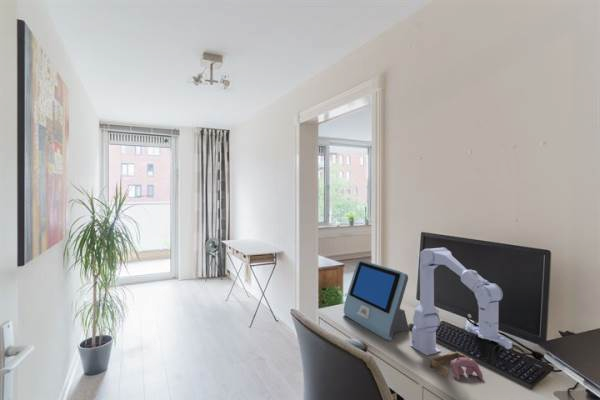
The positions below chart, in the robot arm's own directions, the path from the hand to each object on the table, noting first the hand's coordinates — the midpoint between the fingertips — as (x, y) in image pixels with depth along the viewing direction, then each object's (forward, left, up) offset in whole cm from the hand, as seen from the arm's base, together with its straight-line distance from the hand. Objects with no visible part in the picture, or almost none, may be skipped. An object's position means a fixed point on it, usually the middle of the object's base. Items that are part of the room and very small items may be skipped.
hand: (488, 360), depth 106 cm
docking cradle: (-14, 0, -9) cm, 17 cm away
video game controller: (-8, 0, -10) cm, 13 cm away
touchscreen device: (-59, 0, -10) cm, 59 cm away
